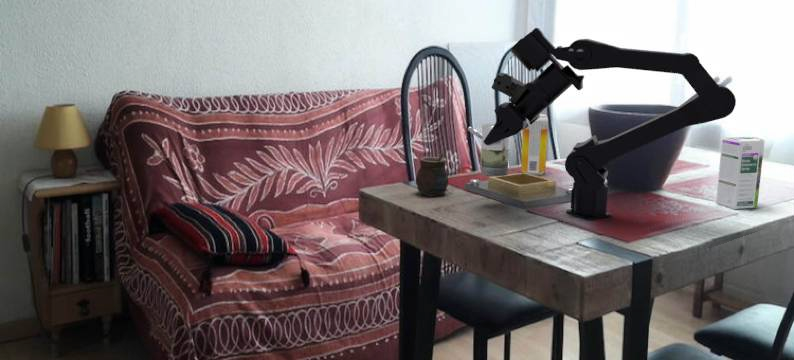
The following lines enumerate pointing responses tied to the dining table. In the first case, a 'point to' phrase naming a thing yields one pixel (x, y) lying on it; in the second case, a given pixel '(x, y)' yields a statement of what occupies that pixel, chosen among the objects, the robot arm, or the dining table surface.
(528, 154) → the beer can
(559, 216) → the dining table surface
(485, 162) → the glass mug
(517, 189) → the grey plate with frame
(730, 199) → the syrup box
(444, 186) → the mate gourd
